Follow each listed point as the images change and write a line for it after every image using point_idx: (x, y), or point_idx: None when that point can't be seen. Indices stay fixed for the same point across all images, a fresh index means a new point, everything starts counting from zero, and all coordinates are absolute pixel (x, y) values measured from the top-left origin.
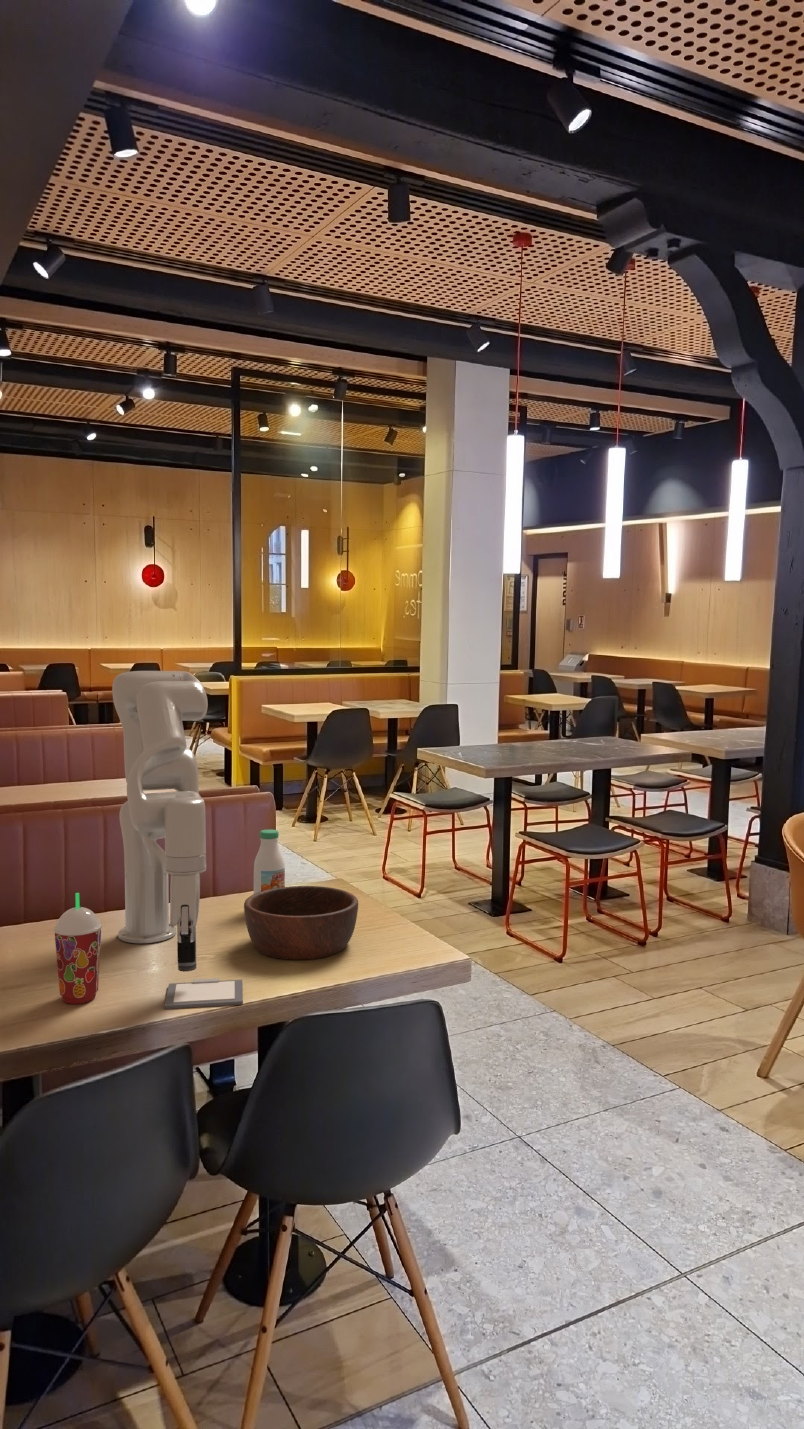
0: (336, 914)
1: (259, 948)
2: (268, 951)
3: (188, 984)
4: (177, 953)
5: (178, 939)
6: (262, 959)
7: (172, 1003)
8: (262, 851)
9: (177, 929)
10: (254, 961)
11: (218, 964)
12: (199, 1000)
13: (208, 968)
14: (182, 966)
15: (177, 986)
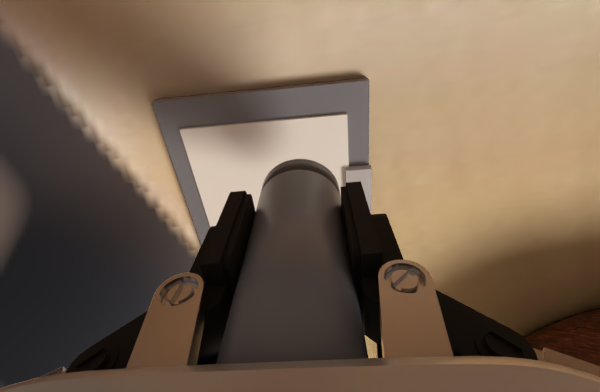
0: None
1: (585, 324)
2: (543, 340)
3: (340, 156)
4: (221, 216)
5: (154, 299)
6: (534, 311)
7: (176, 125)
8: None
9: (269, 320)
10: (527, 296)
11: (547, 215)
12: (202, 203)
13: (521, 190)
14: (261, 192)
15: (323, 121)
